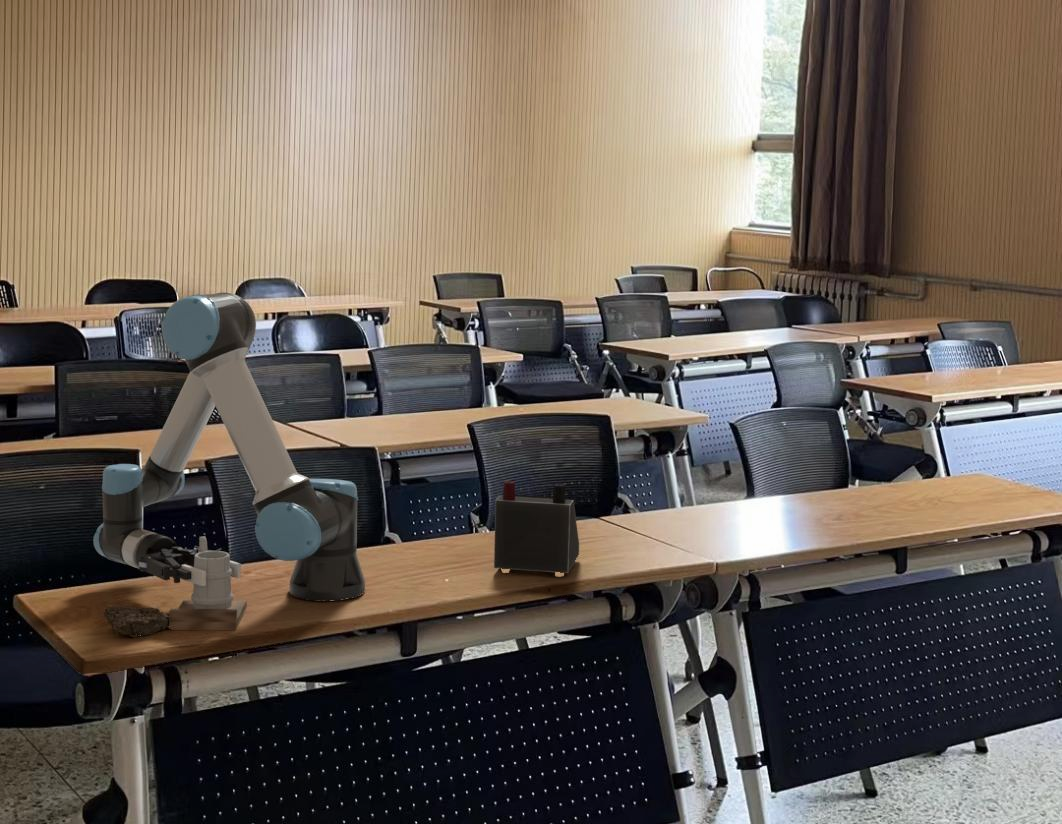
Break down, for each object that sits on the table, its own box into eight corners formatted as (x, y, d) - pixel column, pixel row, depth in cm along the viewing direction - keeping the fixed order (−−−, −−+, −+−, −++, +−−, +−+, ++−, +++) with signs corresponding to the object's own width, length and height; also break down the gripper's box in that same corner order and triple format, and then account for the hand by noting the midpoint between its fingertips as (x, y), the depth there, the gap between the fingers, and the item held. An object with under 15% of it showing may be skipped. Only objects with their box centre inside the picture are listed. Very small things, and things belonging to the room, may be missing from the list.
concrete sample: (112, 643, 243) (112, 615, 242) (99, 628, 252) (99, 601, 251) (177, 635, 248) (177, 608, 248) (162, 620, 257) (162, 594, 256)
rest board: (246, 608, 266) (246, 590, 265) (235, 630, 252) (235, 611, 251) (183, 607, 265) (183, 590, 264) (169, 629, 251) (169, 611, 250)
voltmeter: (578, 561, 309) (581, 473, 306) (567, 579, 293) (570, 487, 290) (508, 556, 311) (510, 469, 309) (493, 574, 295) (495, 482, 293)
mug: (198, 614, 251) (198, 550, 250) (179, 597, 261) (179, 536, 260) (238, 609, 255) (238, 546, 253) (219, 593, 265) (218, 532, 264)
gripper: (194, 562, 277) (265, 584, 262) (105, 580, 262) (175, 605, 247) (193, 525, 275) (265, 546, 261) (104, 541, 261) (175, 564, 246)
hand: (221, 574), depth 254 cm, fingers closed on mug, 7 cm apart
